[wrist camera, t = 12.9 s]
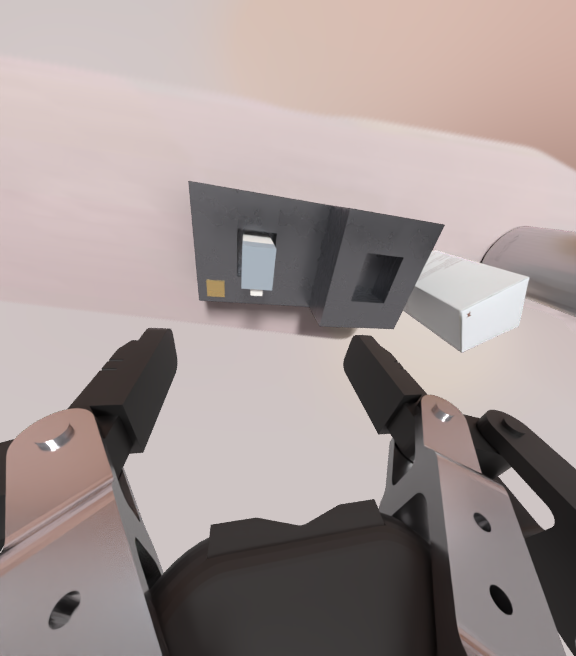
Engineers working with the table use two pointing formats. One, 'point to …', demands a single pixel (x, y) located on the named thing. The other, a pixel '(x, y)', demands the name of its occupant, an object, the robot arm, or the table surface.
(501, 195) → the table surface
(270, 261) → the plug
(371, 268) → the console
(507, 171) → the table surface
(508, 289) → the supplement box
